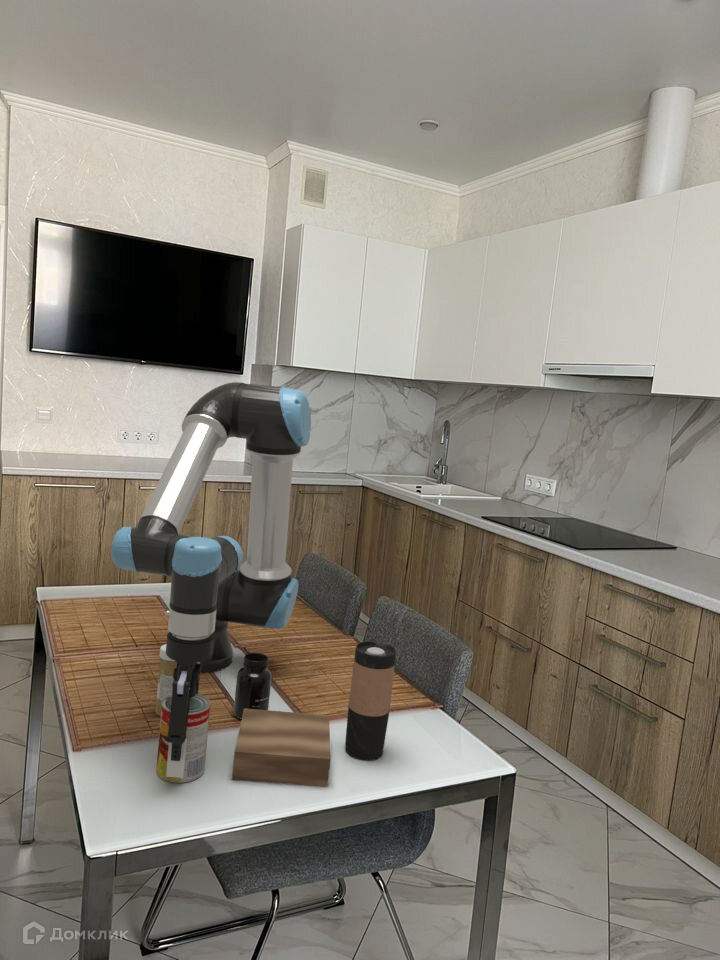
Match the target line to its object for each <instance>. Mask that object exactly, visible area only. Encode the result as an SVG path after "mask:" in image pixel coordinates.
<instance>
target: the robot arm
mask: <svg viewBox="0 0 720 960" xmlns="http://www.w3.org/2000/svg"><path fill="white" fill-rule="evenodd" d="M311 415H312V413H311V407H310V403H309V400H308V397H307V395H306V394H305V393H304V392H303V391H301V390H299V389H295V388H294V389H292V388H290V387H289V388H288V387H286V386H275V385H264V384H263V385H262V384H253V383H246V382H245V383H244V382H238V381H236V382H235V381H234V382H228V383H223V384H222V385H219V386H217V387H215V388H213V389H211V390H210V391H208V392H206V393H205V394H203V395H202V396H201V397H200V398H199V399H198V400H197V401H196V402H195V403H193V405H192V406H191V407H190V409H189V410H188V411H187V413H186V414H185V416H184V419H183V420H182V423H181V431H182V434H181V436H180V438H179V440H178V442H177V444H176V446H175V448H174V449H173V452H172V453H171V456H170V458H169V460H168V462H167V464H166V466H165V468H164V470H163V472H162V475H161V476H160V478H159V480H158V482H157V484H156V487H155V488H154V490H153V492H152V494H151V497H150V498H149V501H148V503H147V504H146V506H145V508H144V509H143V512H142V515H141V516H140V518H139V519H138V521H137V524H136V526H123V527H121V528H120V529H118V530H117V531H116V533H115V534H114V537H113V539H112V542H111V546H110V547H111V549H110V554H111V555H110V556H111V559H112V562H113V564H114V565H115V566H116V567H117V568H119V569H123V570H128V571H132V572H136V573H147V574H154V575H162V576H167V577H171V582H170V596H169V610H166V611H165V613H164V615H165V617H169V618H168V622H167V623H168V626H167V630H168V631H169V632H167V634H166V643H165V644H166V655H167V656H168V657H169V658H170V659H172V660H175V661H177V667H176V668H175V669H174V674H173V678H174V681H173V683H172V686H173V689H172V702H171V711H170V720H169V730H168V736H165V738H164V740H166V741H167V742H169V749H168V761H167V773H166V777H177V778H183V777H184V768H185V756H186V745H187V738H186V731H187V723H188V713H189V709H190V701H191V698H192V697H193V696H195V695H196V694H199V686H200V679H201V678H200V676H201V674H203V673H204V674H206V673H207V672H208V673H215V672H219V671H222V670H225V669H227V668H228V667H230V666H231V665H232V663H233V660H234V659H233V657H234V656H233V655H234V652H233V651H234V650H233V646H232V642H231V638H230V633H229V629H228V627H229V626H228V624H229V623H234V624H241V625H245V626H252V627H256V628H257V627H258V628H263V629H273V630H281V629H283V628H285V627H286V625H287V624H288V623H289V620H290V618H291V616H292V614H293V611H294V607H295V604H296V601H297V596H298V591H299V580H298V579H296V578H295V577H292V568H291V567H290V566H289V564H288V563H287V562H286V559H287V558H286V557H287V548H288V547H287V544H288V533H289V531H288V530H289V517H290V506H291V505H290V504H291V503H290V502H291V492H292V491H291V490H292V477H293V476H292V475H293V465H294V463H293V462H294V459H295V458H296V457H298V455H300V454H301V452H302V451H301V450H302V447H305V446H307V445H308V444H309V441H310V438H311V431H312V418H311ZM228 438H239V439H243V440H244V439H245V440H246V442H245V443H246V445H245V449H246V451H247V452H248V454H249V455H251V457H252V463H251V467H252V468H251V484H250V497H249V498H250V500H249V515H248V516H249V517H248V533H247V547H246V549H247V551H246V560H245V561H244V554H243V549H242V547H241V544H239V543H238V541H237V540H235V539H234V538H232V537H231V536H227V535H218V536H214V537H212V538H210V537H202V536H191V535H183V534H180V531H181V530H182V528H183V525H184V524H185V520H186V518H187V516H188V514H189V511H190V509H191V507H192V505H193V503H194V501H195V499H196V497H197V494H198V492H199V490H200V488H201V486H202V484H203V481H204V480H205V476H206V475H207V472H208V470H209V468H210V466H211V464H212V462H213V459H214V457H215V455H216V452H217V450H218V449H220V448H222V447H223V446H225V444H226V443H227V441H228ZM243 561H244V562H243Z"/></svg>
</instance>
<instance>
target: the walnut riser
mask: <svg viewBox="0 0 720 960" xmlns="http://www.w3.org/2000/svg"><path fill="white" fill-rule="evenodd" d="M239 725H240V726H239V729H238V734H237V738H236V739H237V740H236V743H235V744H236V745H235V748H234V756H233V767H232V775H231V776H232V778H231V781H243V782H244V781H245V782H256V783H257V782H258V783H273V784H287V785H288V784H289V785H298V786H299V785H301V786H314V787H317V786H318V787H326V786H327V787H329V776H330V769H331V760H332V758H331V757H332V755H331V733H330V715H328V714H318V713H307V712H306V713H304V712H293V711H283V710H282V711H280V710H269V709H268V710H257V709H244V710H243V715H242V720H241V719H240V723H239Z"/></svg>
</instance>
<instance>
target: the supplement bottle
mask: <svg viewBox="0 0 720 960" xmlns="http://www.w3.org/2000/svg"><path fill="white" fill-rule="evenodd" d="M242 666H243V667H241V668H240V669H239V670H238V672H237V675H236V683H235V691H234V692H235V693H234V700H233V711H232V712H233V715H234V714H235V715H234V716H235V717H236V716H237V717H239V718H241V719H242V715H243V710H244V709H257V710H269V703H270V695H271V687H272V673H271V670H269V669H268V668H269V656H268V655H266V654H264V653H258V652H251V653H247V654H245V655H244V657H243V663H242ZM237 717H236V718H237ZM241 719H240V720H241Z"/></svg>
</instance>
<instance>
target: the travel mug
mask: <svg viewBox="0 0 720 960" xmlns="http://www.w3.org/2000/svg"><path fill="white" fill-rule="evenodd" d="M354 650H355V651H354V658H353V666H352V672H351V673H352V675H351V683H350V691H349V698H348V705H347V708H348V709H347V718H346V731H345V743H344V749H345V750H344V751H345V752H346V753H347V755H349V756H350V757H352V758H354V759H355V760H361V761H375V760H377V759H379V758H381V757H382V755H383V754H384V753H383V752H384V748H385V742H386V736H387V735H386V734H387V730H388V729H387V728H388V723H389V716H390V709H391V701H392V692H393V684H394V683H393V682H394V675H395V665H396V657H397V649H396V648H395V647H394V646H393V645H391V644H387V645H381V644H378V643H377V641H373V640H368V641H367V640H366V641H362V642H361V641H360V642H358V643H357V644H356V646H355V649H354Z"/></svg>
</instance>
